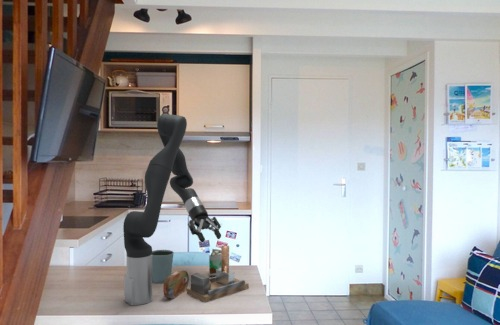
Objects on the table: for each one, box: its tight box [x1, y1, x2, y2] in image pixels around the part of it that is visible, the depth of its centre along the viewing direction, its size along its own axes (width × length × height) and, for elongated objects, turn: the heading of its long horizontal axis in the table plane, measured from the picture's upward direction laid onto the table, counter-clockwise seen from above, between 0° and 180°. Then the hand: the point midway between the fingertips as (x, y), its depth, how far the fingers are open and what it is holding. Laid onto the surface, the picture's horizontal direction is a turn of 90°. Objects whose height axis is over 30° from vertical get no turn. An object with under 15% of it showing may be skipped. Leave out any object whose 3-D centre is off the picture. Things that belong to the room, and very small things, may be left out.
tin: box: [162, 269, 190, 300], centre depth 150 cm, size 15×3×8 cm, turn 159°
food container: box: [208, 248, 221, 278], centre depth 175 cm, size 12×6×10 cm, turn 179°
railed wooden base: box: [186, 272, 250, 303], centre depth 153 cm, size 22×12×8 cm, turn 133°
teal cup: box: [152, 249, 174, 284], centre depth 166 cm, size 10×10×12 cm
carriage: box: [216, 245, 235, 285], centre depth 156 cm, size 3×8×15 cm, turn 43°
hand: (211, 239), depth 162 cm, fingers open, 8 cm apart
